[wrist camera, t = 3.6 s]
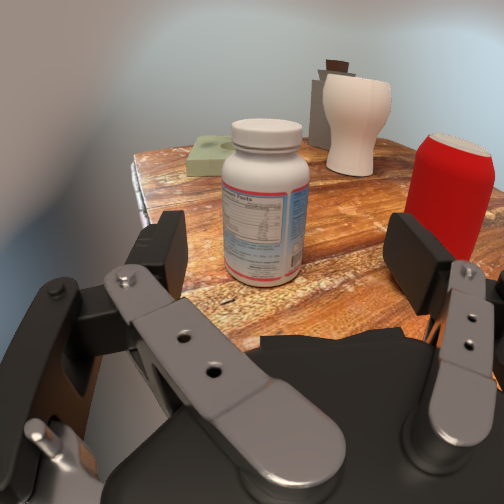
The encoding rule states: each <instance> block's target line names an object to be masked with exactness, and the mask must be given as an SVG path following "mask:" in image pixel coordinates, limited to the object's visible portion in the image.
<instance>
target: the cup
mask: <svg viewBox="0 0 504 504" xmlns="http://www.w3.org/2000/svg"><path fill="white" fill-rule="evenodd" d="M391 100H392V99H391V92H390V84H389V83H386V82H382V81H375V80H370V79H364V78H358V77H351V76H343V75H335V74H328V75H327V78H326V81H325V85H324V88H323V100H322V102H323V106H324V111H325V115H326V118H327V120H328V123H329V125H330V128H331V148H330V151H329V155H328V158H327V163H326V166H327V167H328V168H329V169H331V170H333V171H335V172H338V173H342V174H346V175H352V176H369V175H371V174H373V149H374V145H375V141H376V138H377V135H378V134H379V132H380V131H381V129H382V128H383V126H384V125H385V123H386V121H387V118H388V116H389V114H390V109H391Z"/></svg>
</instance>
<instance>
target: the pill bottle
mask: <svg viewBox="0 0 504 504" xmlns="http://www.w3.org/2000/svg"><path fill="white" fill-rule="evenodd" d="M231 141H232V142H233V143H232V145H233V147H234V148H236V152H235V153H233V154H232V155H230V156H229V157H228V158H227V159H226V160H225V162H224V164H223V167H222V208H223V235H224V260H225V266H226V268H227V270H228V271H229V273H230V274H231V275H232V276H233V277H235V278H236V279H237V280H239V281H241V282H243V283H245V284H248V285H251V286H257V287H272V286H277V285H281V284H284V283H286V282H288V281H290V280H291V279H293V278H294V277H295V276H296V275H297V274H298V272H299V271H300V268H301V262H302V255H303V246H304V236H305V225H306V215H307V204H308V192H309V179H310V171H309V167H308V164H307V163H306V161H305V160H304V159H303V158H302V157H301V156H299V155H297V150H299V149H300V147H301V146H300V144H301V143H302V126H301V125H300V124H298V123H295V122H291V121H287V120H279V119H246V120H240V121H236V122H234V123H233V124H232V138H231Z"/></svg>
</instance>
